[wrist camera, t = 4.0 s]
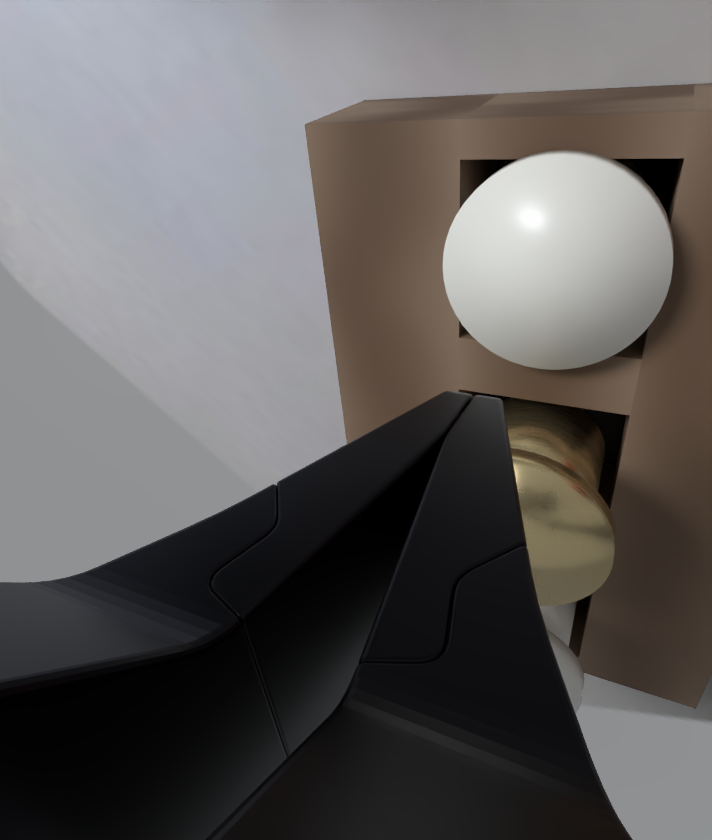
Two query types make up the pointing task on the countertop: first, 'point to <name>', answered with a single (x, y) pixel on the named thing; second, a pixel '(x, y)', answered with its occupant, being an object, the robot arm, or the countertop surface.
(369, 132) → the control panel
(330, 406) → the countertop surface
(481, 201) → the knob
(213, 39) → the countertop surface
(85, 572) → the robot arm
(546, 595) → the brass knob
